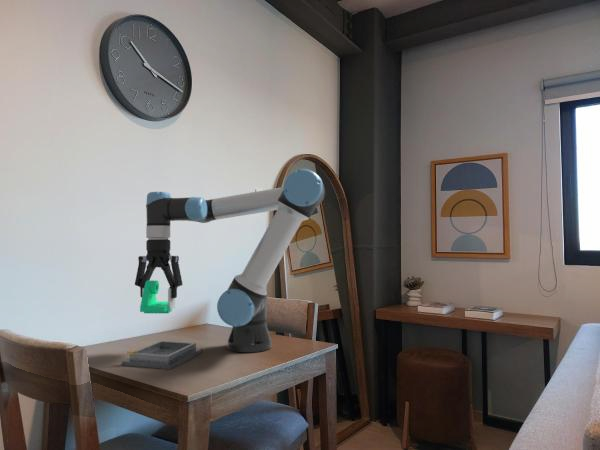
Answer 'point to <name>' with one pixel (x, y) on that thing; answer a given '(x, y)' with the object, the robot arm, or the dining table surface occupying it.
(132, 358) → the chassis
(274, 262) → the robot arm
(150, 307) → the camera mount
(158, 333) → the dining table surface
